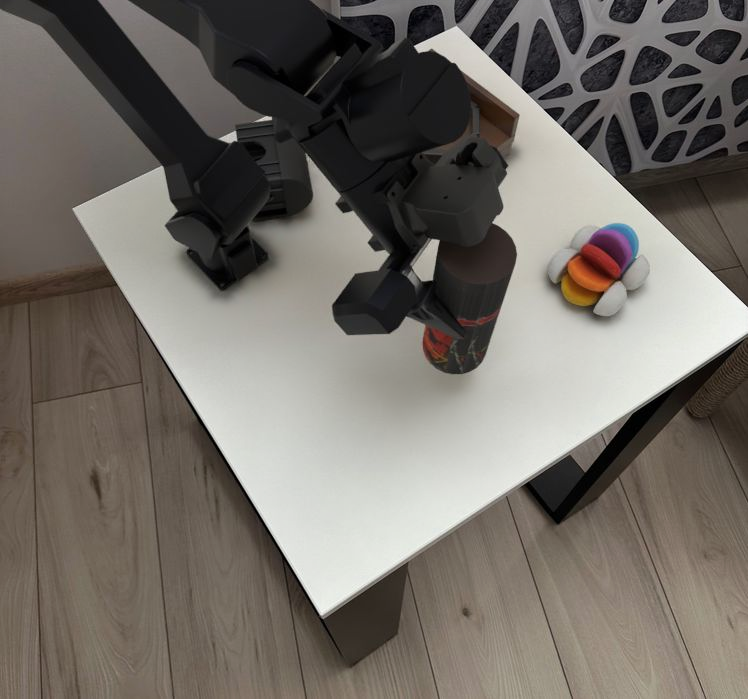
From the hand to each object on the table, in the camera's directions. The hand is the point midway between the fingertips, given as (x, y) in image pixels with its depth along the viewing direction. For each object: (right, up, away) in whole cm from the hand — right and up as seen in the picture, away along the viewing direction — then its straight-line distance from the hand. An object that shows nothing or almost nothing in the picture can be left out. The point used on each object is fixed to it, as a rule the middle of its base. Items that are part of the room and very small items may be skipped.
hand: (479, 310), depth 64 cm
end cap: (-20, +15, +23) cm, 34 cm away
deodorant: (-1, -3, +7) cm, 8 cm away
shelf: (-2, +20, +26) cm, 33 cm away
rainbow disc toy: (+14, +4, +17) cm, 23 cm away
